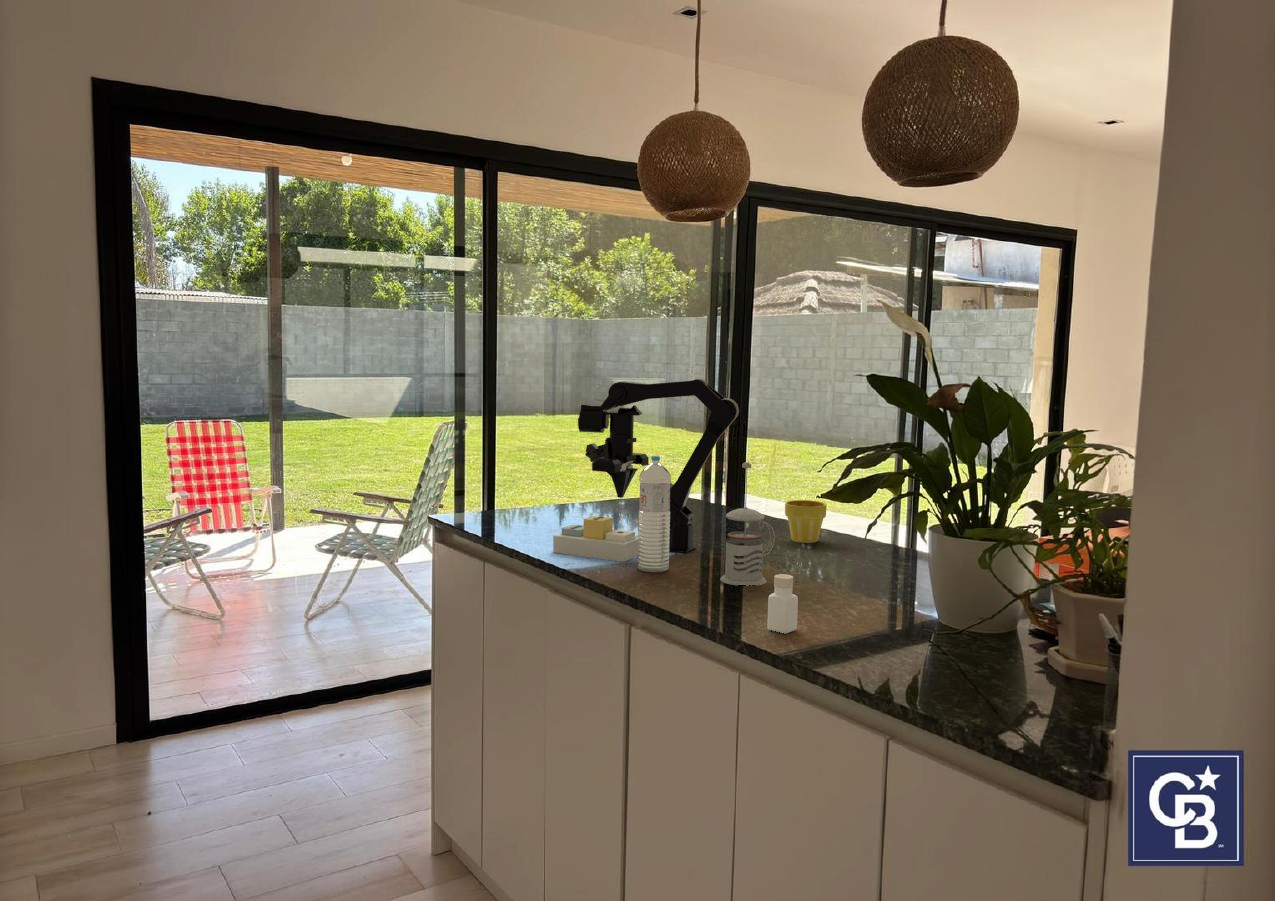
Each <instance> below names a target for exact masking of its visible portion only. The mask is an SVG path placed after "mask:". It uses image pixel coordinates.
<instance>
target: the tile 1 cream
mask: <svg viewBox="0 0 1275 901" xmlns="http://www.w3.org/2000/svg"><path fill="white" fill-rule="evenodd" d="M635 537H636V532H635V531H630V530H620V529H615V530H613V531H611V532H608V533H606V540H608V541H616V542H624V543H626V542H629V541H632V540H634V539H635Z"/></svg>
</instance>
